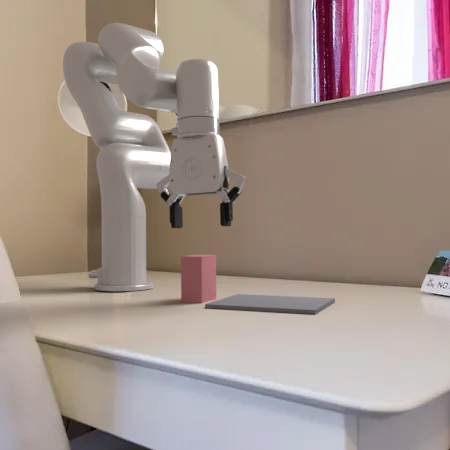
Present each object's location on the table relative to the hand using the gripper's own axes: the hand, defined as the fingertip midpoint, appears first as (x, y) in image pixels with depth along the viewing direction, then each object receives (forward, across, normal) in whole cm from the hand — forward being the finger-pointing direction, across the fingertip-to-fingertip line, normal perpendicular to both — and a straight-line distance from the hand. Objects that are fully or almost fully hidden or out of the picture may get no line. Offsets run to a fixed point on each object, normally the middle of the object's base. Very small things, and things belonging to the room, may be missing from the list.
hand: (201, 227), depth 94 cm
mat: (+13, +13, 0) cm, 19 cm away
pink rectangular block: (+13, -1, 0) cm, 13 cm away
